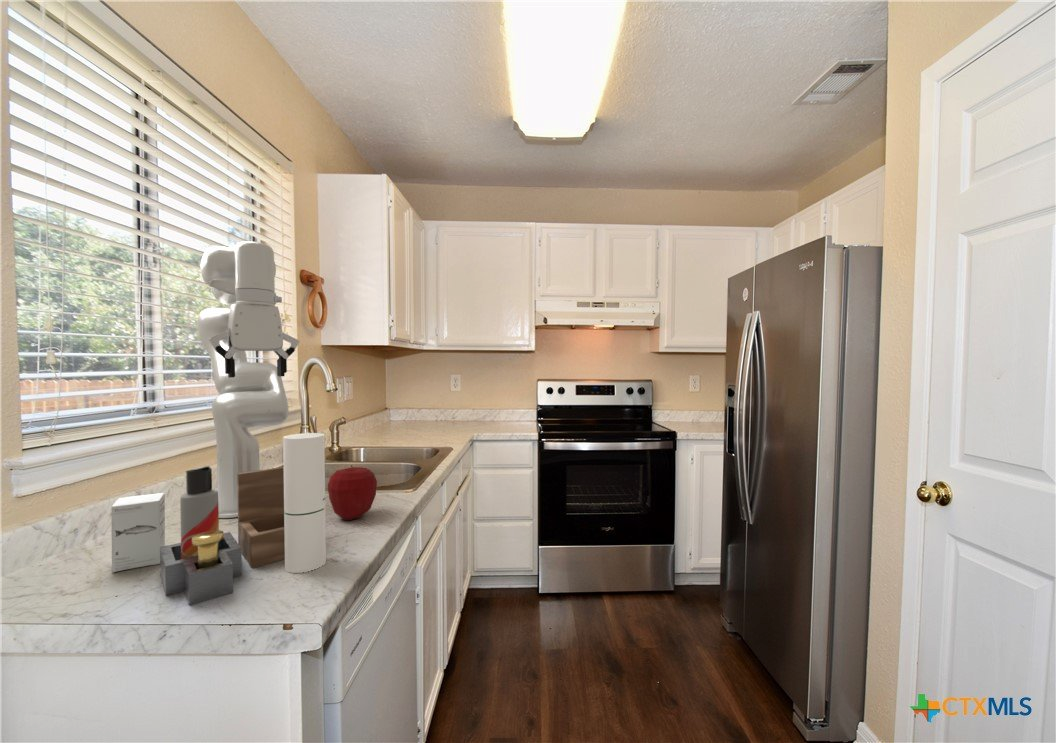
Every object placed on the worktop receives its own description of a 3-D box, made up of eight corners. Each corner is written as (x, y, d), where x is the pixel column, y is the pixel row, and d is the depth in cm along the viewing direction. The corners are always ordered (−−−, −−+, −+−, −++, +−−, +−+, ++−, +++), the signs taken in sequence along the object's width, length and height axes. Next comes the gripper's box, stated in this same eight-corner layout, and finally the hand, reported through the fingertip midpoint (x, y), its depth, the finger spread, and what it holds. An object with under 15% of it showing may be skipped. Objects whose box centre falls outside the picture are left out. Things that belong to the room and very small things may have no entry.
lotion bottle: (199, 583, 81) (197, 470, 80) (173, 580, 82) (171, 469, 82) (227, 569, 86) (225, 464, 86) (202, 566, 87) (200, 462, 87)
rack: (238, 549, 96) (237, 473, 95) (295, 535, 103) (294, 465, 103) (251, 568, 87) (250, 484, 86) (312, 551, 94) (311, 474, 94)
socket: (160, 573, 84) (159, 547, 84) (230, 556, 92) (229, 532, 92) (169, 611, 71) (169, 579, 71) (249, 587, 79) (249, 558, 79)
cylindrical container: (330, 555, 92) (328, 432, 92) (320, 571, 85) (318, 438, 85) (292, 558, 91) (290, 433, 90) (279, 574, 84) (277, 439, 83)
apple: (366, 525, 109) (366, 470, 109) (318, 525, 109) (318, 470, 109) (383, 509, 121) (383, 459, 121) (340, 509, 121) (339, 460, 121)
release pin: (190, 568, 77) (190, 534, 77) (221, 561, 80) (220, 528, 80) (194, 577, 74) (193, 542, 74) (226, 569, 77) (225, 535, 77)
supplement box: (110, 574, 85) (109, 506, 84) (119, 559, 91) (118, 496, 91) (161, 564, 88) (159, 500, 88) (166, 551, 95) (165, 491, 95)
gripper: (292, 305, 109) (293, 376, 109) (205, 298, 98) (206, 377, 98) (302, 301, 104) (304, 376, 104) (211, 293, 92) (213, 377, 92)
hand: (257, 376), depth 101 cm, fingers open, 9 cm apart
